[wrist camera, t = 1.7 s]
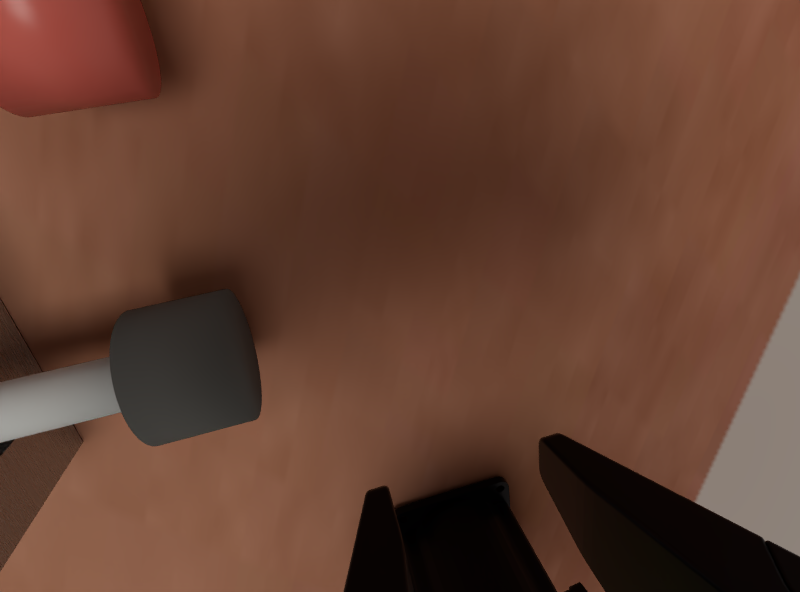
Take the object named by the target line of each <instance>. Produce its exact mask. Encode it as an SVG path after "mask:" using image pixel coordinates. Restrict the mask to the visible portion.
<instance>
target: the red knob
mask: <svg viewBox="0 0 800 592" xmlns="http://www.w3.org/2000/svg"><path fill="white" fill-rule="evenodd" d="M160 91H161V74H160V67H159V62H158V57H157V52H156V48H155V44H154V41H153V37H152V34H151V30H150V27H149V24H148V21H147V18H146V15H145V12H144V9H143V6H142V3H141V0H0V107H1V108H3V109H5V110H7V111H9V112H11V113H13V114H15V115H18V116H22V117H34V116H40V115H47V114H53V113H60V112H66V111H73V110H80V109H86V108H93V107H99V106H106V105H113V104H119V103H126V102H132V101H139V100H146V99H152V98H157V97H158V96H159V94H160Z"/></svg>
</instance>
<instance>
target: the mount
mask: <svg viewBox="0 0 800 592" xmlns="http://www.w3.org/2000/svg"><path fill="white" fill-rule="evenodd" d="M37 373H42V370H41V369H40V367H39V365H38V363H37V362H36V360H35V358H34V357H33V355H32V353H31V351H30V350H29V348H28V346H27V344H26V343H25V341H24V339H23V338H22V336H21V334H20V332H19V331H18V329H17V327H16V325H15V324H14V322H13V320H12V319H11V317H10V315H9V313H8V312H7V310H6V308H5V306H4V305H3V303H2V301H1V300H0V382H3V381H7V380H12V379H16V378H20V377H25V376H29V375H33V374H37ZM82 443H83V441H82V439H81V438H80V436H79V434H78V433H77V431H76V429H75V427H74V426H73V425H69V426H65V427H61V428H57V429H53V430H49V431H45V432H41V433H37V434H33V435H29V436H25V437H21V438H17V439H13V440H9V441H5V442H1V443H0V571H1V570H2V568H3V567H4V565H5V563H6V562H7V560H8V559H9V557H10V556H11V554H12V552H13V551H14V549H15V548H16V546H17V545H18V543H19V542H20V540H21V538H22V537H23V535H24V534H25V532H26V531H27V529H28V527H29V526H30V524H31V523H32V521H33V520H34V518H35V517H36V515H37V513H38V512H39V510H40V509H41V507H42V506H43V504H44V502H45V501H46V499H47V498H48V496H49V495H50V493H51V492H52V490H53V488H54V487H55V485H56V484H57V482H58V481H59V479H60V477H61V476H62V474H63V473H64V471H65V470H66V468H67V466H68V465H69V463H70V462H71V460H72V459H73V457H74V456H75V454H76V452H77V451H78V449H79V448H80V446H81V445H82Z"/></svg>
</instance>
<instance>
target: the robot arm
mask: <svg viewBox="0 0 800 592" xmlns="http://www.w3.org/2000/svg"><path fill="white" fill-rule="evenodd" d="M539 469H540V474H541V477H542V480H543V482H544V484H545V486H546V488H547V490H548V491H549V493H550V495H551V497H552V499H553V501H554V503H555V505H556V507H557V509H558V511H559V512H560V514H561V516H562V518H563V520H564V522H565V524H566V526H567V528H568V530H569V532H570V533H571V535H572V537H573V539H574V541H575V543H576V545H577V547H578V548H579V550H580V552H581V554H582V556H583V557H584V559H585V561H586V562H587V564H588V565H589V567H590V569H591V570H592V572H593V573H594V575H595V576H596V578H597V579H598V581H599V582H600V584H601V585H602V587H603V588H604V590H605V592H800V557H799V556H798V555H796V554H794V553H792V552H790V551H788V550H786V549H784V548H782V547H780V546H778V545H776V544H774V543H772V542H770V541H764V539H763V538H762V537H760V536H758V535H757V534H755V533H752V532H751V531H749V530H747V529H745V528H743V527H741V526H739V525H737V524H735V523H733V522H731V521H729V520H727V519H725V518H723V517H722V516H720V515H718V514H716V513H714V512H712V511H710V510H708V509H706V508H704V507H702V506H700V505H698V504H696V503H694V502H693V501H691V500H689V499H687V498H685V497H683V496H681V495H679V494H677V493H675V492H673V491H671V490H669V489H667V488H665V487H663V486H662V485H660V484H658V483H656V482H654V481H652V480H650V479H648V478H646V477H644V476H642V475H640V474H638V473H636V472H634V471H632V470H630V469H629V468H627V467H625V466H623V465H621V464H619V463H617V462H615V461H613V460H611V459H609V458H607V457H605V456H603V455H601V454H599V453H597V452H596V451H594V450H592V449H590V448H588V447H586V446H584V445H582V444H580V443H578V442H576V441H574V440H572V439H570V438H568V437H566V436H565V435H562V434H559V433H556V434H553V435H549V436H546V437H543V438H541V439H540V441H539ZM402 516H403V517H402ZM344 592H557V591H556V589H555V587H554V585H553V584H552V582H551V580H550V578H549V577H548V575H547V573H546V571H545V569H544V568H543V566H542V564H541V562H540V561H539V559H538V557H537V555H536V553H535V552H534V550H533V548H532V546H531V545H530V543H529V541H528V539H527V538H526V536H525V534H524V532H523V530H522V529H521V527H520V525H519V523H518V522H517V520H516V518H515V516H514V515H513V513H512V511H511V509H510V500H509V486H508V484H507V482H506V480H505V479H504V478H503V477H500V476H499V477H495V478H491V479H488V480H485V481H482V482H479V483H475V484H472V485H469V486H466V487H463V488H459V489H456V490H453V491H450V492H446V493H443V494H440V495H437V496H434V497H430V498H427V499H424V500H421V501H418V502H414V503H411V504H408V505H405V506H402V507H399V508H397V509H396V510H395V509H394V505H393V502H392V498H391V494H390V491H389V488H388V487H387V486H381V487H378V488H374V489H371V490H369V491H367V493H366V495H365V499H364V504H363V508H362V513H361V517H360V522H359V526H358V530H357V535H356V539H355V544H354V548H353V553H352V557H351V561H350V566H349V570H348V575H347V579H346V584H345V588H344ZM565 592H587V590H586V589H585V588H584V586H583V585H582V584H581V583H580V582H579V583H577V584H574V585H572V586H570V587H569V590H567V591H565Z"/></svg>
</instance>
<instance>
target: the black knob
mask: <svg viewBox="0 0 800 592" xmlns="http://www.w3.org/2000/svg"><path fill="white" fill-rule="evenodd" d="M261 403H262V393H261V380H260V372H259V366H258V360H257V355H256V351H255V346H254V342H253V338H252V335H251V331H250V328H249V325H248V322H247V319H246V317H245V314H244V312H243V309H242V307H241V305H240V303H239V301H238V299H237V298H236V296H235V295H234V293H233V292H232V291H231V290H229V289H224V290H219V291H215V292H210V293H205V294H201V295H196V296H192V297H187V298H183V299H178V300H174V301H169V302H164V303H160V304H155V305H151V306H146V307H142V308H137V309H133V310H128V311H126V312H124V313H123V314H121V315H120V317H119V318H118V319H117V321H116V323H115V325H114V328H113V331H112V335H111V341H110V357H106V358H102V359H97V360H93V361H89V362H85V363H80V364H76V365H72V366H67V367H63V368H59V369H55V370H50V371H46V372H42V373H37V374H33V375H29V376H25V377H20V378H16V379H12V380H7V381H3V382H0V443H1V442H5V441H9V440H13V439H17V438H21V437H25V436H29V435H33V434H37V433H41V432H45V431H49V430H53V429H57V428H61V427H65V426H69V425H73V424H77V423H81V422H85V421H88V420H92V419H96V418H100V417H104V416H108V415H112V414H116V413H120V412H121V413H122V415H123V417H124V419H125V421H126V423H127V424H128V426H129V428H130V429H131V430H132V432H133V433H134V434H135V435H136V436H137V438H138V439H140V440H141V441H142V442H143V443H145V444H147V445H150V446H159V445H163V444H167V443H170V442H174V441H178V440H182V439H185V438H189V437H193V436H197V435H200V434H204V433H208V432H212V431H215V430H219V429H223V428H227V427H230V426H234V425H238V424H242V423H245V422H249V421H253V420H256V419H257V418H258V417H259V415H260V411H261Z"/></svg>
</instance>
